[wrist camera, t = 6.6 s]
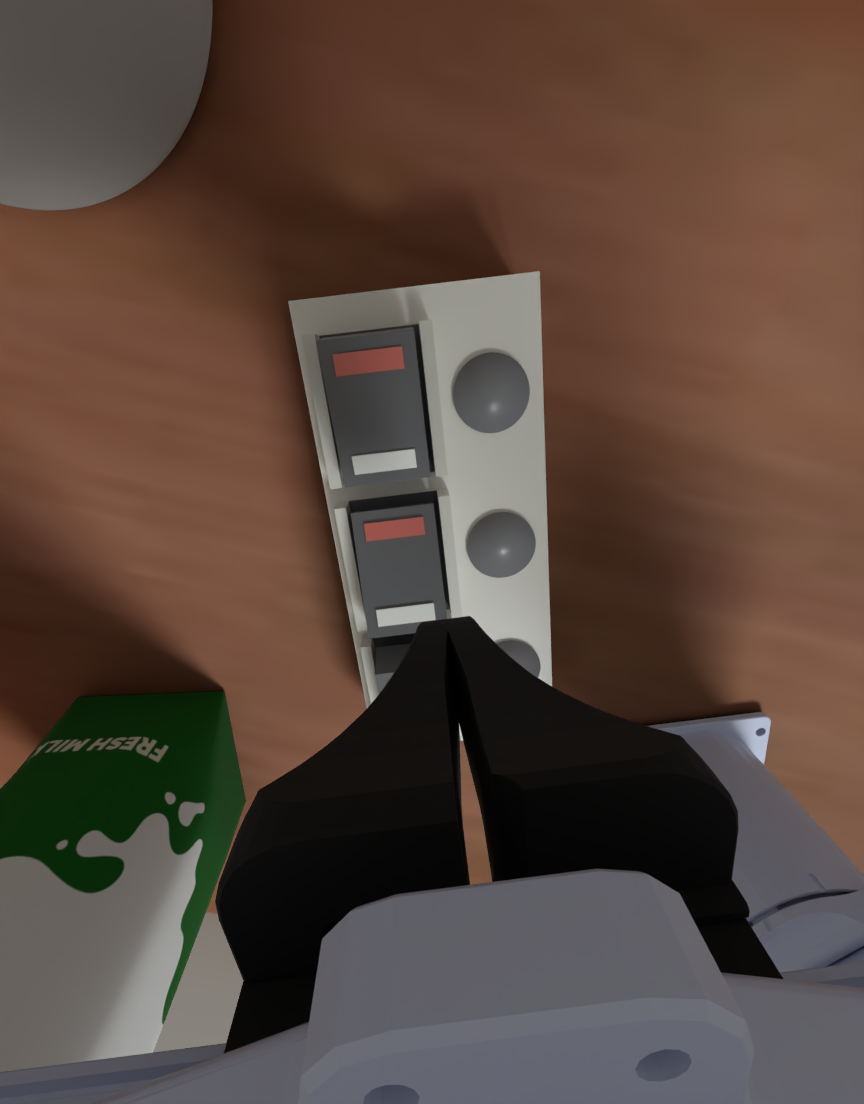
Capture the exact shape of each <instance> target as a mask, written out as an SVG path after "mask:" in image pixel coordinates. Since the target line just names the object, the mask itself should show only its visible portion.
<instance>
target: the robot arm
mask: <svg viewBox="0 0 864 1104" xmlns="http://www.w3.org/2000/svg"><path fill="white" fill-rule="evenodd" d="M770 724H771V720H770V718H769V717H768V716H767V715H766V714H765V713H763V712H755V713H747V714H739V715H731V716H723V717H715V718H707V719H699V720H691V721H682V722H674V723H666V724H658V725H650V726H644V725H641V724H637V723H634V722H631V721H628V720H625V719H622V718H620V717H617V716H614V715H611V714H609V713H606V712H603V711H601V710H599V709H596V708H594V707H591V706H589V705H587V704H585V703H583V702H581V701H578V700H576V699H574V698H572V697H570V696H568V695H566V694H564V693H562V692H561V691H559V690H557V689H555V688H553V687H552V686H550V685H548V684H547V683H545V682H544V681H542V680H540V679H539V678H537V677H536V676H534V675H533V674H531V673H530V672H529V671H527V670H526V669H525V668H523V667H522V666H521V665H520V664H518V663H517V662H516V661H515V660H514V659H512V658H511V657H510V656H509V655H508V654H507V653H506V652H505V651H503V650H502V649H501V648H500V647H499V646H498V645H497V644H496V643H495V642H494V641H493V640H492V639H491V638H490V637H489V636H488V635H487V634H486V633H485V632H484V630H483V629H482V628H481V627H480V626H479V625H478V623H477V622H476V621H475V619H473V618H472V617H471V616H466V617H458V618H450V619H442V620H434V621H426V622H421V623H420V624H419V626H418V627H417V630H416V633H415V635H414V637H413V640H412V642H411V644H410V646H409V648H408V650H407V652H406V654H405V655H404V657H403V659H402V661H401V662H400V664H399V666H398V668H397V669H396V671H395V672H394V674H393V675H392V677H391V678H390V680H389V681H388V682H387V684H386V685H385V687H384V688H383V690H382V691H381V692H380V693H379V695H378V696H377V697H376V699H375V700H374V701H373V702H372V703H371V704H370V706H369V707H368V708H367V709H366V710H365V711H364V712H363V714H362V715H360V716H359V717H358V718H357V719H356V720H355V721H354V722H353V723H352V724H351V725H350V726H349V727H348V728H347V729H346V730H345V731H344V732H342V733H341V734H340V735H339V736H338V737H337V738H335V739H334V740H333V741H332V742H331V743H329V744H328V745H327V746H326V747H324V748H323V749H322V750H320V751H319V752H318V753H316V754H315V755H313V756H312V757H311V758H309V759H308V760H307V761H305V762H304V763H302V764H301V765H299V766H298V767H296V768H294V769H293V770H291V771H290V772H288V773H286V774H285V775H283V776H282V777H280V778H278V779H277V780H275V781H274V782H272V783H270V784H269V785H267V786H265V787H263V788H262V789H260V790H259V791H258V792H257V795H256V797H255V799H254V801H253V803H252V805H251V807H250V809H249V810H248V812H247V814H246V816H245V818H244V820H243V823H242V825H241V827H240V829H239V831H238V834H237V836H236V839H235V841H234V844H233V847H232V849H231V852H230V855H229V857H228V860H227V863H226V865H225V868H224V871H223V873H222V876H221V879H220V881H219V885H218V890H217V896H216V901H215V902H216V907H217V912H218V917H219V921H220V923H221V926H222V928H223V931H224V933H225V936H226V938H227V940H228V943H229V946H230V948H231V951H232V953H233V955H234V958H235V961H236V963H237V965H238V968H239V970H240V973H241V975H242V978H243V980H244V981H243V985H242V989H241V992H240V996H239V999H238V1003H237V1007H236V1010H235V1014H234V1018H233V1021H232V1025H231V1029H230V1032H229V1036H228V1040H227V1043H226V1044H217V1045H209V1046H201V1047H193V1048H185V1049H179V1050H170V1051H162V1052H155V1053H146V1054H138V1055H131V1056H123V1057H115V1058H107V1059H99V1060H91V1061H84V1062H76V1063H68V1064H60V1065H52V1066H44V1067H37V1068H29V1069H21V1070H13V1071H5V1072H0V1104H864V874H863V873H862V872H861V870H860V869H859V868H858V867H857V866H856V865H855V864H854V863H853V862H852V861H851V860H850V858H849V857H848V856H847V855H846V854H845V853H844V852H843V851H842V850H841V849H840V848H839V846H838V845H837V844H836V843H835V842H834V841H833V840H832V839H831V838H830V837H829V835H828V834H827V833H826V832H825V831H824V830H823V829H822V828H821V827H820V826H819V825H818V823H817V822H816V821H815V820H814V819H813V818H812V817H811V816H810V815H809V814H808V812H807V811H806V810H805V809H804V808H803V807H802V806H801V805H800V804H799V803H798V802H797V800H796V799H795V798H794V797H793V796H792V795H791V794H790V793H789V792H788V791H787V790H786V788H785V787H784V786H783V785H782V784H781V783H780V782H779V781H778V780H777V779H776V777H775V776H774V775H773V774H772V773H771V772H770V771H769V770H768V769H767V768H766V767H765V765H764V761H765V755H766V749H767V743H768V737H769V731H770ZM459 725H460V729H461V733H462V737H463V741H464V745H465V749H466V753H467V757H468V761H469V765H470V769H471V773H472V777H473V781H474V785H475V789H476V792H477V796H478V800H479V805H480V809H481V814H482V819H483V824H484V830H485V837H486V843H487V849H488V856H489V862H490V869H491V875H492V882H489V883H481V884H473V885H470V881H469V873H468V864H467V856H466V848H465V839H464V831H463V821H462V807H461V774H460V739H459Z"/></svg>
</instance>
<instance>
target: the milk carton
mask: <svg viewBox="0 0 864 1104" xmlns="http://www.w3.org/2000/svg"><path fill="white" fill-rule="evenodd" d="M245 802H246V800H245V795H244V790H243V785H242V780H241V774H240V769H239V764H238V759H237V754H236V749H235V744H234V738H233V733H232V728H231V723H230V718H229V713H228V708H227V702H226V697H225V692H224V691H212V692H188V693H163V694H138V695H114V696H89V697H78V698H77V699H76V700H75V702H74V703H73V704H72V705H71V706H70V708H69V709H68V710H67V711H66V713H65V714H64V715H63V716H62V717H61V719H60V720H59V721H58V722H57V723H56V725H55V726H54V727H53V728H52V729H51V731H50V732H49V733H48V734H47V735H46V737H45V738H44V739H43V740H42V741H41V743H40V744H39V745H38V746H37V747H36V749H35V750H34V751H33V752H32V753H31V755H30V756H29V757H28V758H27V760H26V761H25V762H24V763H23V764H22V766H21V767H20V768H19V769H18V770H17V772H16V773H15V774H14V775H13V776H12V777H11V778H10V779H9V780H8V782H7V783H6V784H5V785H4V786H3V787H2V788H1V789H0V1072H5V1071H13V1070H21V1069H29V1068H37V1067H44V1066H52V1065H60V1064H68V1063H76V1062H84V1061H91V1060H99V1059H107V1058H115V1057H123V1056H131V1055H138V1054H146V1053H153V1051H154V1048H155V1045H156V1043H157V1040H158V1037H159V1035H160V1032H161V1029H162V1027H163V1024H164V1021H165V1019H166V1016H167V1014H168V1010H169V1008H170V1006H171V1003H172V1000H173V997H174V995H175V992H176V990H177V987H178V984H179V982H180V979H181V976H182V974H183V971H184V968H185V966H186V963H187V960H188V958H189V955H190V952H191V950H192V947H193V944H194V942H195V939H196V937H197V934H198V931H199V929H200V926H201V923H202V920H203V918H204V915H205V913H206V910H207V907H208V905H209V902H210V900H211V897H212V894H213V891H214V889H215V886H216V883H217V881H218V878H219V875H220V873H221V870H222V867H223V865H224V862H225V860H226V857H227V854H228V851H229V848H230V845H231V842H232V839H233V836H234V833H235V831H236V828H237V825H238V822H239V819H240V816H241V813H242V810H243V807H244V805H245Z"/></svg>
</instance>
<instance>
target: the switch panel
mask: <svg viewBox="0 0 864 1104" xmlns="http://www.w3.org/2000/svg"><path fill="white" fill-rule="evenodd" d="M288 304H289V309H290V314H291V319H292V324H293V330H294V335H295V340H296V345H297V350H298V355H299V361H300V366H301V371H302V376H303V381H304V386H305V392H306V397H307V402H308V407H309V412H310V417H311V423H312V428H313V433H314V438H315V443H316V448H317V454H318V459H319V464H320V469H321V474H322V479H323V485H324V490H325V495H326V500H327V505H328V510H329V516H330V521H331V526H332V531H333V536H334V541H335V547H336V552H337V557H338V562H339V567H340V572H341V578H342V583H343V588H344V593H345V598H346V604H347V609H348V614H349V619H350V624H351V629H352V635H353V640H354V645H355V650H356V655H357V660H358V666H359V671H360V676H361V681H362V686H363V691H364V697H365V702H366V707H367V708H368V707H369V706H370V704H371V703H372V702H373V701H374V700H375V699H376V697H377V696H378V695H379V689H378V685H377V681H376V676H375V667H376V648H377V647H385V646H393V645H401V644H410V643H411V642H412V640H413V637H414V635H415V633H412V634H404V635H395V636H387V637H379V638H371V639H369V638H368V631H367V624H366V617H365V610H364V603H363V596H362V589H361V582H360V575H359V568H358V561H357V554H356V547H355V540H354V534H353V527H352V520H351V513H353V512H355V511H361V510H369V509H377V508H385V507H394V506H402V505H410V504H418V503H427V502H433V504H434V513H435V521H436V529H437V538H438V546H439V555H440V563H441V572H442V580H443V588H444V597H445V605H446V614H447V619H450V618H458V617H466V616H471V617H472V618H473V619H475V621H476V622H477V623H478V625H479V626H480V627H481V628H482V629H483V630H484V632H485V633H486V634H487V635H488V636H489V637H490V638H491V639H492V640H493V641H494V642H495V643H496V644H497V645H498V646H499V647H500V648H501V649H502V650H503V651H505V652H506V653H507V654H508V655H509V656H510V657H511V658H512V659H514V660H515V661H516V662H517V663H518V664H520V665H521V666H522V667H523V668H525V669H526V670H527V671H529V672H530V673H531V674H533V675H534V676H536V677H537V678H539V679H540V680H542V681H544V682H545V683H547V684H548V685H550V686H552V663H551V630H550V597H549V564H548V531H547V498H546V464H545V431H544V398H543V365H542V332H541V299H540V271H537V272H529V273H520V274H512V275H503V276H495V277H486V278H478V279H470V280H461V281H453V282H444V283H436V284H428V285H419V286H411V287H402V288H394V289H386V290H377V291H369V292H360V293H352V294H344V295H335V296H327V297H318V298H310V299H301V300H293V301H288ZM410 327H413V328H414V334H415V343H416V351H417V360H418V369H419V378H420V387H421V396H422V405H423V414H424V423H425V432H426V441H427V450H428V459H429V468H430V477H428V478H420V479H411V480H403V481H395V482H387V483H378V484H370V485H362V486H353V487H345V485H344V480H343V475H342V470H341V465H340V460H339V455H338V450H337V445H336V440H335V435H334V430H333V425H332V419H331V414H330V409H329V404H328V399H327V394H326V389H325V384H324V379H323V374H322V369H321V364H320V359H319V354H318V349H317V344H316V341H317V340H319V339H321V338H326V337H335V336H343V335H351V334H360V333H368V332H377V331H385V330H393V329H402V328H410ZM459 731H460V740H461V741H462V740H463V737H462V733H461V729H460V725H459Z"/></svg>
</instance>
